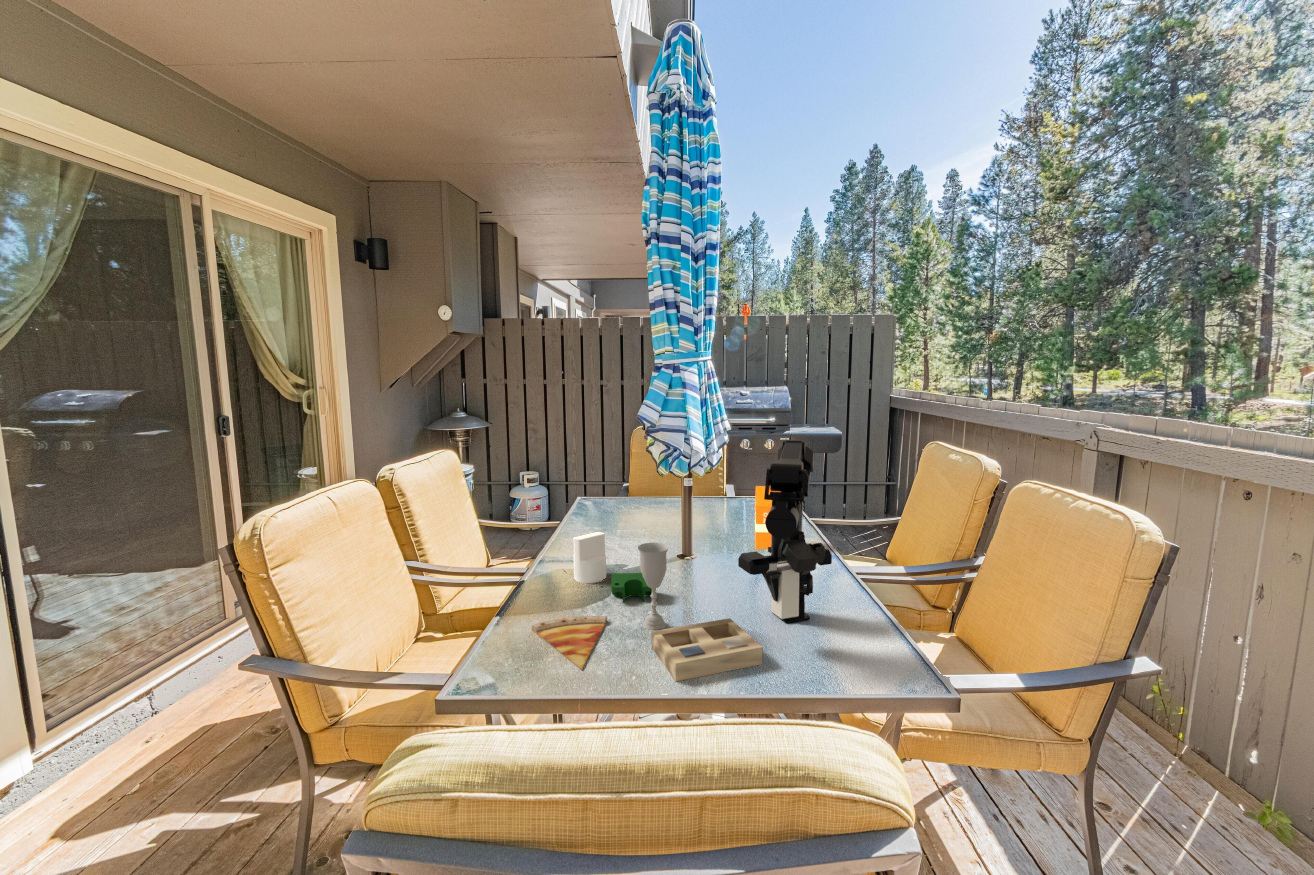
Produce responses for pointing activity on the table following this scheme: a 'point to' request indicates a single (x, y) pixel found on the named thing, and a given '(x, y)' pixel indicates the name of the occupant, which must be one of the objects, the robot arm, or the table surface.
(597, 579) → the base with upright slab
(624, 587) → the clamp
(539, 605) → the table surface
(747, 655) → the socket board
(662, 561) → the chalice
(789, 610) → the plug
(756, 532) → the orange juice
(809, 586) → the robot arm
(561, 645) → the pizza slice
